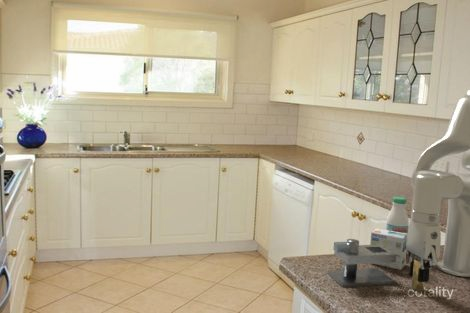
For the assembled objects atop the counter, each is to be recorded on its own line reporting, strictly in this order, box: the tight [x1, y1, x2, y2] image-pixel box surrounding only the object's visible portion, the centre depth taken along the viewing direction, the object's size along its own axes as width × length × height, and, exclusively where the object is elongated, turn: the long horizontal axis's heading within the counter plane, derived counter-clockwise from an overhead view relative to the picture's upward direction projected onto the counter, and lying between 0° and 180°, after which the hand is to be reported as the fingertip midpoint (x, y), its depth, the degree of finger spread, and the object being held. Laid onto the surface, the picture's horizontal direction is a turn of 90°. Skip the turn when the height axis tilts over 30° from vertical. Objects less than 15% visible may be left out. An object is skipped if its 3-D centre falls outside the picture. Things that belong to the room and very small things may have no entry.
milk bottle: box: [384, 196, 410, 234], centre depth 171 cm, size 8×8×20 cm
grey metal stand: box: [327, 238, 396, 288], centre depth 145 cm, size 18×10×12 cm, turn 104°
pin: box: [410, 255, 427, 292], centre depth 140 cm, size 3×3×10 cm
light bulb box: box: [369, 227, 407, 271], centre depth 160 cm, size 11×7×11 cm, turn 59°
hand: (418, 278), depth 140 cm, fingers closed on pin, 3 cm apart
